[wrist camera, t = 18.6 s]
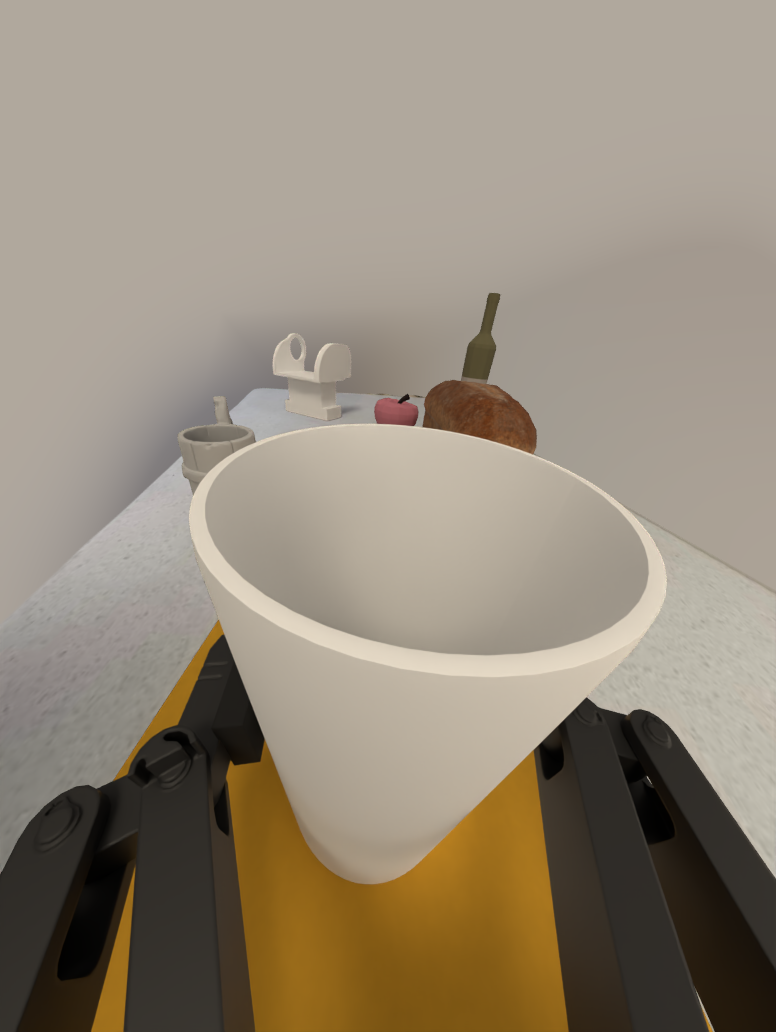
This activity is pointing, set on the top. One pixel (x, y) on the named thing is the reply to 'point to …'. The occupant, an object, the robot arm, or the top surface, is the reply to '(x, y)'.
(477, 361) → the bottle
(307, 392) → the white holder stand
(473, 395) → the bread
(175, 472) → the top surface
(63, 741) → the top surface
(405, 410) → the apple
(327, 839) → the cup
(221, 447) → the mug
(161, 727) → the cloth
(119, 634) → the top surface
